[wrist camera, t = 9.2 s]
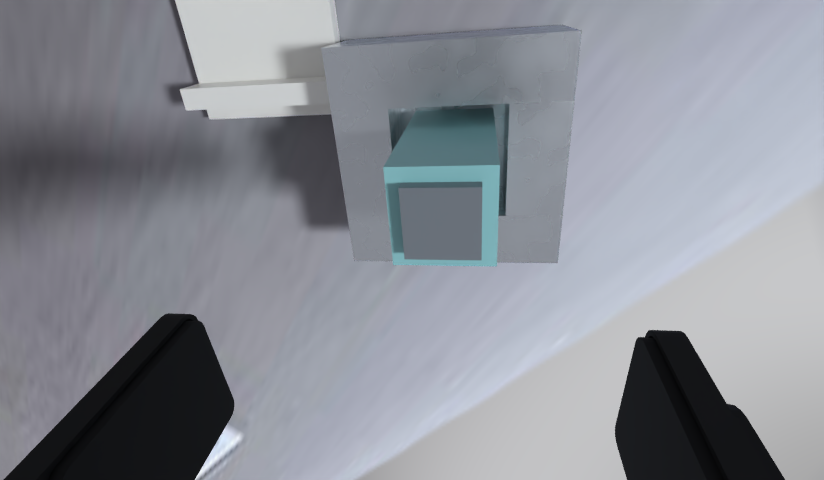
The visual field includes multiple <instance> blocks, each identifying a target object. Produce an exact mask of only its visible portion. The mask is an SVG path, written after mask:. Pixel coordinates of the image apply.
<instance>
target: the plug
mask: <svg viewBox="0 0 824 480" xmlns="http://www.w3.org/2000/svg"><path fill="white" fill-rule="evenodd" d="M383 170H384V180H385V190H386V200H387V209H388V219H389V229H390V239H391V248H392V258H393V265H442V266H497V246H498V213H499V181H500V161H499V153H498V144H497V136H496V127H495V119H494V111H493V108H477V109H451V110H425V111H416V112H415V113H414V115H413V117H412V118H411V120H410V122H409V124H408V125H407V127H406V129H405V130H404V132H403V134H402V136H401V137H400V139H399V141H398V143H397V144H396V146H395V148H394V149H393V151H392V153H391V155H390V156H389V158H388V160H387V161H386V163H385V165H384V167H383Z"/></svg>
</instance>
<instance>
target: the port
mask: <svg viewBox="0 0 824 480" xmlns="http://www.w3.org/2000/svg"><path fill="white" fill-rule="evenodd" d="M581 33H582V30H578V29H575V28H572V27H568V26H565V25H554V26H540V27H525V28H511V29H496V30H482V31H468V32H453V33H439V34H424V35H410V36H396V37H381V38H367V39H352V40H346V41H343V42H339V43H336V44H333V45H329V46H326V47H323V48H321V51H322V58H323V64H324V70H325V77H326V83H327V90H328V96H329V102H330V109H331V115H332V122H333V128H334V134H335V141H336V147H337V154H338V160H339V166H340V173H341V179H342V186H343V192H344V198H345V205H346V211H347V218H348V224H349V231H350V237H351V243H352V250H353V256H354V261H393V258H392V248H391V239H390V229H389V219H388V209H387V200H386V190H385V180H384V170H383V167H384V165H385V163H386V161H387V160H388V158H389V156H390V155H391V153H392V151H393V149H394V148H395V146H396V144H397V143H398V141H399V139H400V137H401V136H402V134H403V132H404V130H405V129H406V127H407V125H408V124H409V122H410V120H411V118H412V117H413V115H414V113H415V112H416V111H425V110H451V109H477V108H493V111H494V119H495V127H496V136H497V144H498V153H499V161H500V181H499V213H498V246H497V262H509V263H558V254H559V245H560V235H561V226H562V216H563V206H564V197H565V187H566V178H567V168H568V158H569V149H570V139H571V130H572V120H573V110H574V101H575V91H576V82H577V72H578V62H579V53H580V43H581Z"/></svg>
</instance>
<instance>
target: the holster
mask: <svg viewBox="0 0 824 480" xmlns="http://www.w3.org/2000/svg"><path fill="white" fill-rule="evenodd" d="M175 2H176V5H177V9H178V12H179V16H180V19H181V23H182V26H183V30H184V33H185V37H186V40H187V43H188V47H189V50H190V54H191V57H192V61H193V64H194V68H195V71H196V75H197V78H198V82H199V84H196V85H192V86H189V87H186V88H182V89H180V92H181V96H182V99H183V102H184V105H185V108H186V111H187V110H207V113H208V116H209V120H211V119H235V118H258V117H282V116H306V115H329V114H331V109H330V102H329V96H328V90H327V83H326V77H325V70H324V64H323V58H322V51H321V48H323V47H326V46H329V45H333V44H336V43H339V42H340V36H339V29H338V22H337V14H336V7H335V0H175Z"/></svg>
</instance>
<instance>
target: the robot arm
mask: <svg viewBox="0 0 824 480" xmlns="http://www.w3.org/2000/svg"><path fill="white" fill-rule="evenodd" d="M233 411H234V399H233V397H232V394H231V392H230V389H229V387H228V384H227V382H226V379H225V377H224V374H223V372H222V369H221V367H220V364H219V362H218V359H217V357H216V354H215V352H214V350H213V347H212V345H211V342H210V340H209V337H208V335H207V332H206V330H205V327H204V325H203V323H202V322H200V321H198V319H197V318H196V317H195V316H194V315H191V314H165V315H164V316H162V317H161V318H160V319H159V320H158V321H157V322H156V323H155V324H154V325H153V326H152V327H151V328H150V329H149V330H148V331H147V332H146V333H145V334H144V335H143V336H142V337H141V338H140V340H139V341H138V342H137V343H136V344H135V345H134V346H133V347H132V348H131V349H130V350H129V351H128V352H127V353H126V354H125V355H124V356H123V357H122V358H121V359H120V360H119V361H118V362H117V363H116V364H115V365H114V366H113V367H112V368H111V369H110V370H109V372H108V373H107V374H106V375H105V376H104V377H103V378H102V379H101V380H100V381H99V382H98V383H97V384H96V385H95V386H94V387H93V388H92V389H91V390H90V391H89V392H88V393H87V394H86V395H85V396H84V397H83V398H82V399H81V400H80V401H79V402H78V403H77V405H76V406H75V407H74V408H73V409H72V410H71V411H70V412H69V413H68V414H67V415H66V416H65V417H64V418H63V419H62V420H61V421H60V422H59V423H58V424H57V425H56V426H55V427H54V428H53V429H52V430H51V431H50V432H49V433H48V434H47V435H46V437H45V438H44V439H43V440H42V441H41V442H40V443H39V444H38V445H37V446H36V447H35V448H34V449H33V450H32V451H31V452H30V453H29V454H28V455H27V456H26V457H25V458H24V459H23V460H22V461H21V462H20V463H19V464H18V465H17V466H16V467H15V469H14V470H13V471H12V472H11V473H10V474H9V475H8V476H7V477H6V478H5V479H4V480H195V478H196V476H197V475H198V473H199V471H200V470H201V468H202V466H203V464H204V463H205V461H206V459H207V458H208V456H209V454H210V452H211V451H212V449H213V447H214V445H215V444H216V442H217V440H218V439H219V437H220V435H221V433H222V432H223V430H224V428H225V427H226V425H227V423H228V421H229V420H230V418H231V416H232V414H233ZM615 437H616V443H617V447H618V450H619V453H620V457H621V460H622V464H623V467H624V470H625V474H626V477H627V480H785V479H784V477H783V476H782V474H781V472H780V471H779V469H778V468H777V466H776V464H775V463H774V461H773V459H772V458H771V456H770V455H769V453H768V451H767V450H766V448H765V446H764V445H763V443H762V442H761V440H760V438H759V437H758V435H757V433H756V432H755V430H754V429H753V427H752V425H751V424H750V422H749V421H748V419H747V417H746V416H745V415H744V414H743V412H742V411H741V410H740V409H738V408H737V407H736V406H735V405H730V404H726V402H725V400H724V399H723V397H722V395H721V394H720V392H719V390H718V389H717V387H716V385H715V383H714V382H713V380H712V378H711V377H710V375H709V373H708V371H707V370H706V368H705V366H704V365H703V363H702V361H701V359H700V358H699V356H698V354H697V353H696V351H695V349H694V348H693V346H692V344H691V342H690V341H689V339H688V337H687V336H686V335H685V333H683V332H681V331H659V330H649V331H648V332H647V333H646V336H645V337H638V338H637V340H636V343H635V347H634V351H633V355H632V359H631V363H630V367H629V372H628V376H627V380H626V384H625V388H624V393H623V396H622V401H621V405H620V409H619V413H618V418H617V421H616V426H615Z"/></svg>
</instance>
